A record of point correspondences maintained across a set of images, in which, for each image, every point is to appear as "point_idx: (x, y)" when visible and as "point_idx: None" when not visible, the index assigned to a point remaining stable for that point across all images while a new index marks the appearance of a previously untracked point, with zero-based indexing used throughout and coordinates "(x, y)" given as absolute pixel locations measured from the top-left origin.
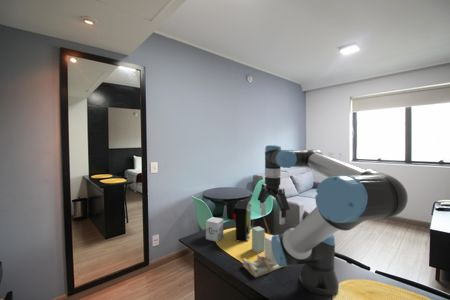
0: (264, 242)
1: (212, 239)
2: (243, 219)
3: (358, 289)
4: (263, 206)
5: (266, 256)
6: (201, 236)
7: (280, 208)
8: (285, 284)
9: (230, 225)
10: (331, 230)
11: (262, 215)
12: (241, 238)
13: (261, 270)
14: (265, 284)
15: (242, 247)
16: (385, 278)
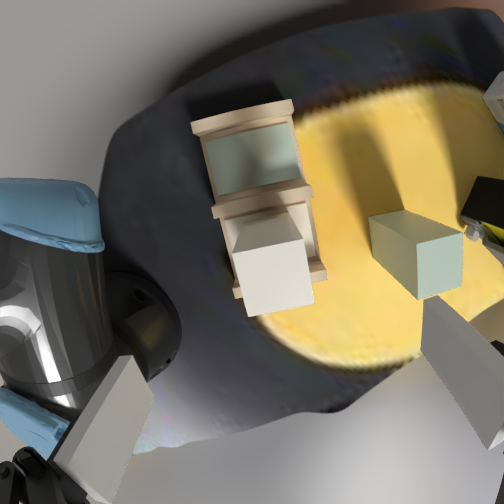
0: (386, 269)
1: (492, 85)
2: None
3: None
4: (477, 387)
5: (276, 218)
6: None
7: (51, 484)
8: (139, 220)
9: None
10: None
11: (423, 310)
12: (475, 198)
13: (222, 163)
14: (154, 149)
15: (425, 173)
16: (141, 448)
